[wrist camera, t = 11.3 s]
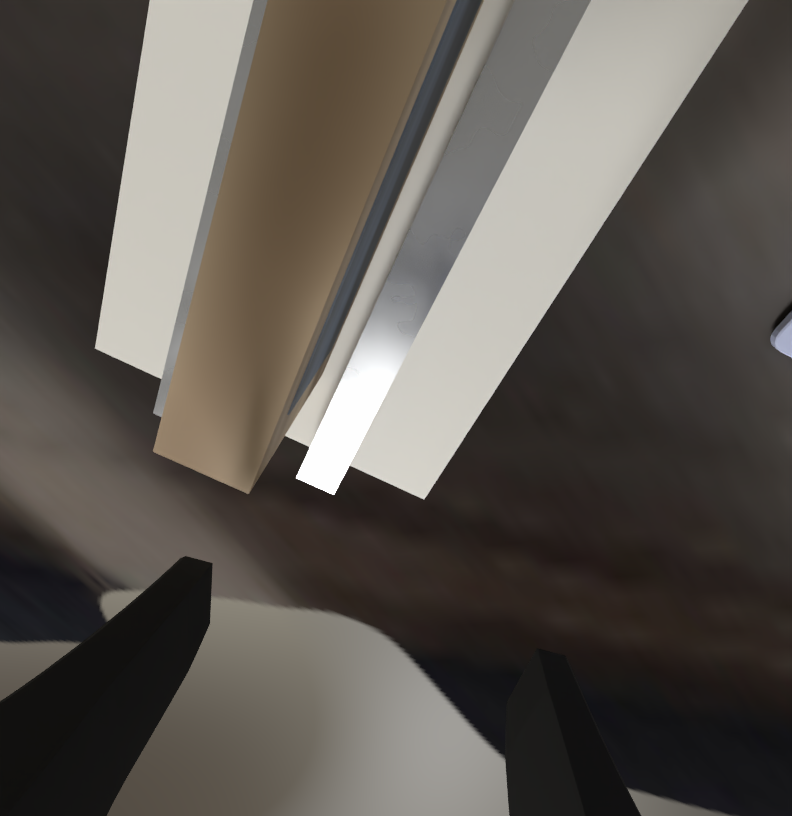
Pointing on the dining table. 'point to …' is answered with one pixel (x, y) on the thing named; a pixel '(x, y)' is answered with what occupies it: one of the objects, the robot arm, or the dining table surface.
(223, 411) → the tan wooden frame
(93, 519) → the dining table surface
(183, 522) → the dining table surface
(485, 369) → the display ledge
